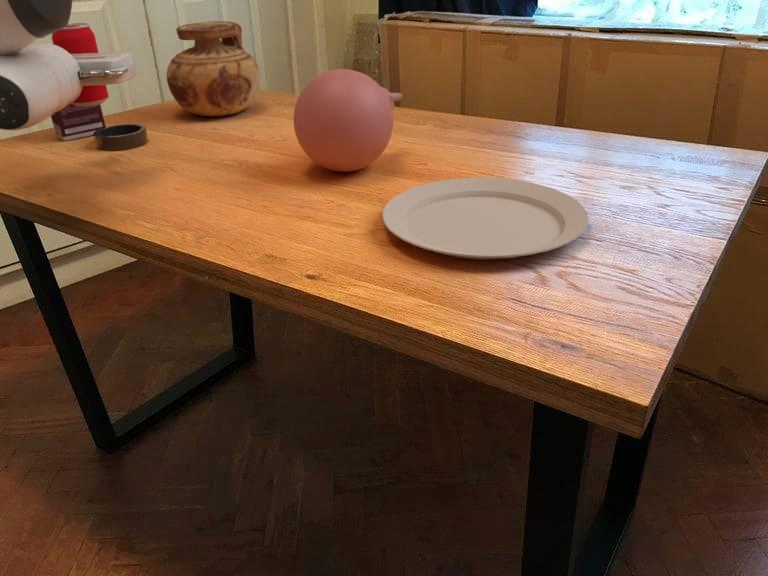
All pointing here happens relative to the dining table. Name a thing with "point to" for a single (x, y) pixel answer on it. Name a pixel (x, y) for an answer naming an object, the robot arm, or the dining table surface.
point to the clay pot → (213, 70)
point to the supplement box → (77, 121)
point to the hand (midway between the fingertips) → (81, 60)
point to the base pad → (120, 137)
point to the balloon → (344, 119)
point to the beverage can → (79, 42)
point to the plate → (485, 218)
